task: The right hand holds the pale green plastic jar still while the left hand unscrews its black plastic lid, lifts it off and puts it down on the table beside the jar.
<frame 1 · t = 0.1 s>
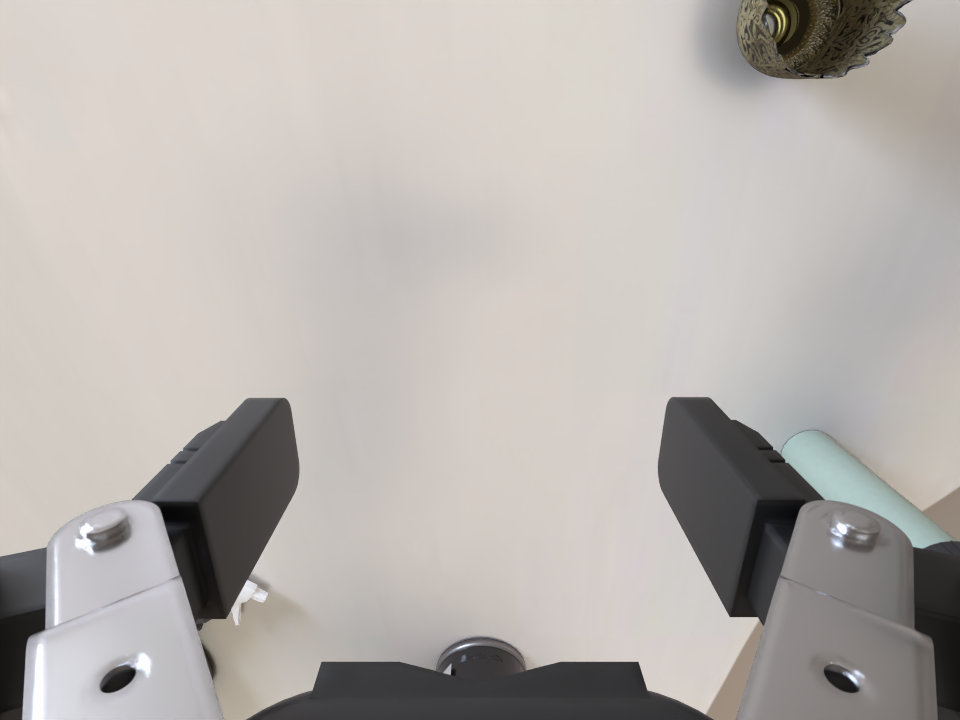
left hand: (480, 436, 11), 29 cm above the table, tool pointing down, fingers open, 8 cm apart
jar: (806, 452, 45), on the table
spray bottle: (181, 639, 53), on the table
lid: (956, 589, 31), point 15 cm above the table, screwed on, not yet turned
cup: (761, 29, 34), on the table
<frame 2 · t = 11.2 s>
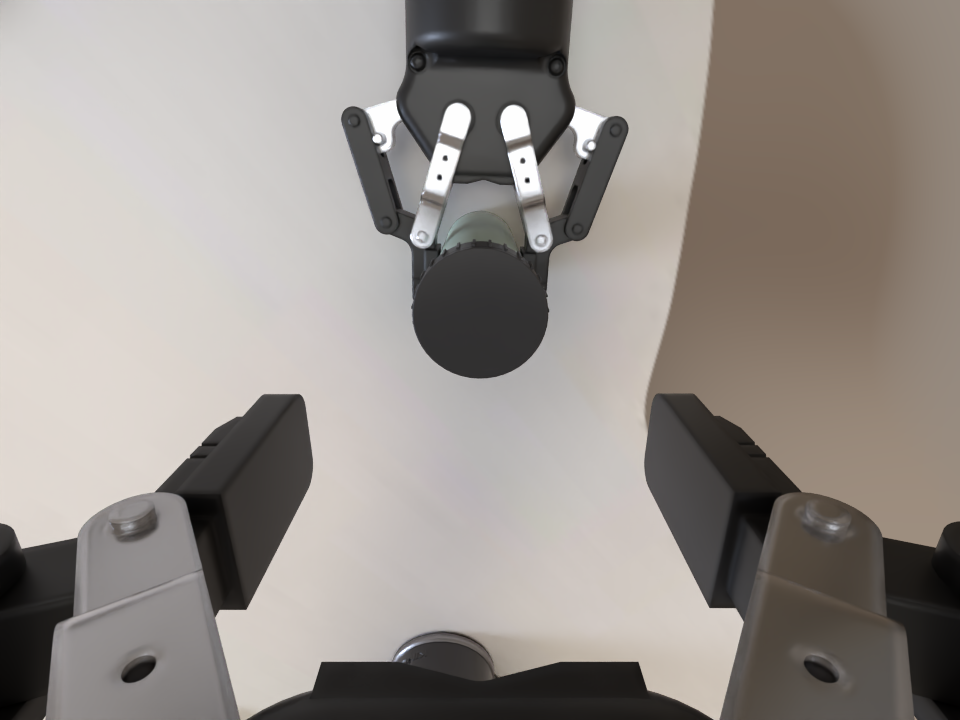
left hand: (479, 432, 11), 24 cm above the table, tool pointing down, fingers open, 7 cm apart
right hand: (479, 314, 29), fingers closed on jar, 4 cm apart
jar: (480, 246, 34), on the table, touching right hand
lid: (480, 313, 20), point 15 cm above the table, screwed on, not yet turned
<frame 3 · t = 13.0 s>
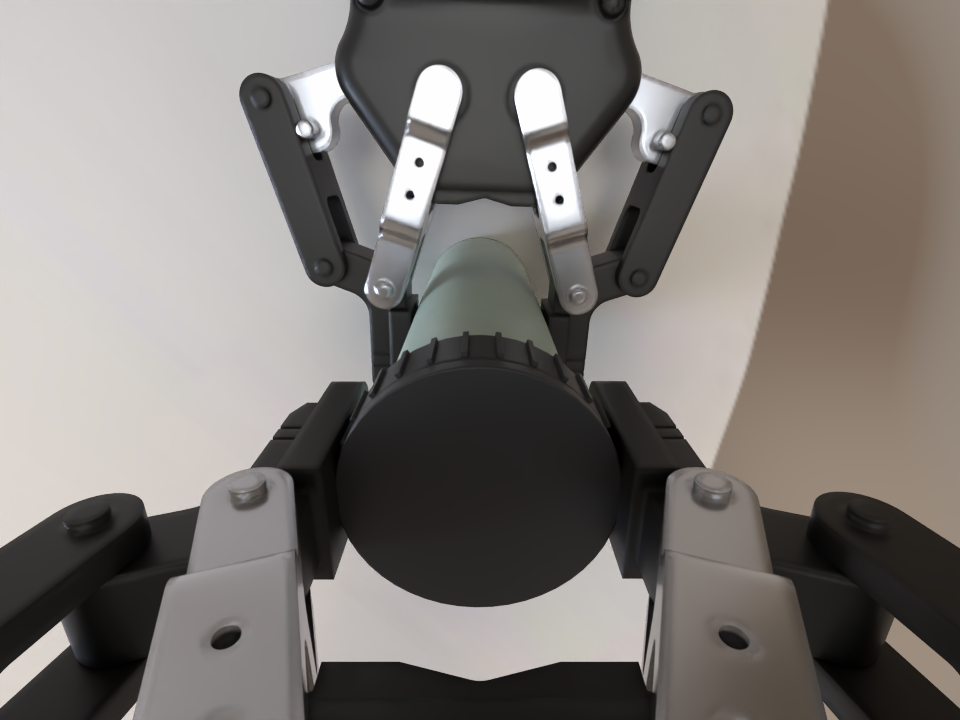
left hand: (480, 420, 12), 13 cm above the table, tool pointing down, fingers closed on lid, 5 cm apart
right hand: (477, 401, 19), fingers closed on jar, 4 cm apart
jar: (479, 286, 24), on the table, touching right hand
lid: (478, 487, 9), point 15 cm above the table, screwed on, not yet turned, touching left hand
when the left hand's fingers open (13 cm above the table, at t = 14.5 s): lid stays where it is, point 15 cm above the table.
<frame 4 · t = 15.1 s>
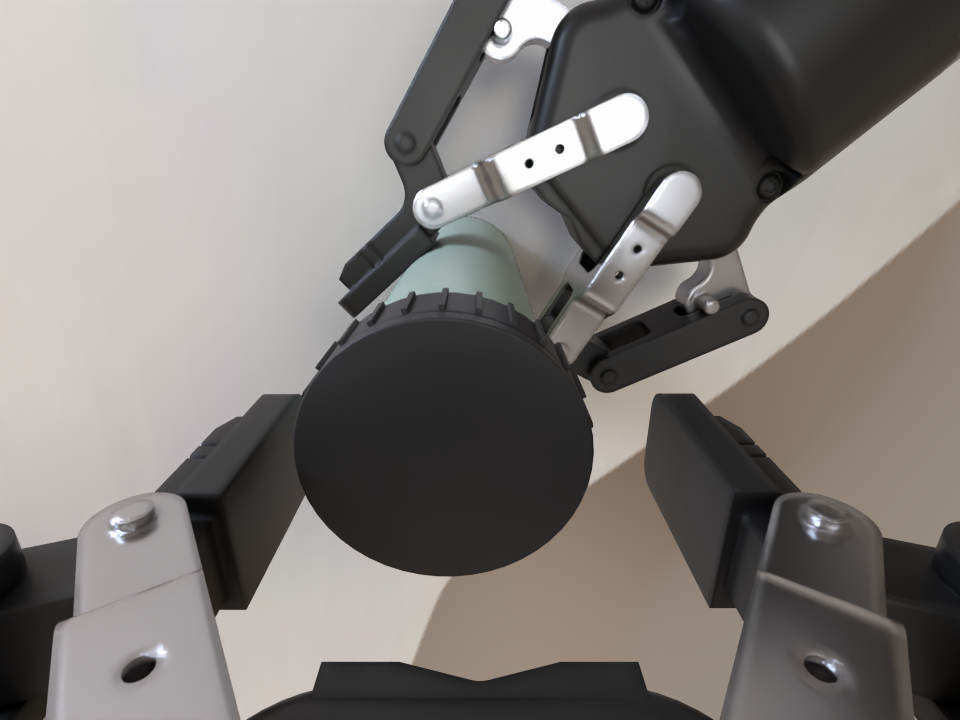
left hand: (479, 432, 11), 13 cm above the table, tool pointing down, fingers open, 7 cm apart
right hand: (405, 355, 18), fingers closed on jar, 4 cm apart
jar: (466, 267, 23), on the table, touching right hand
lid: (445, 450, 9), point 15 cm above the table, turned 81° so far, risen 0.2 cm, still on its thread
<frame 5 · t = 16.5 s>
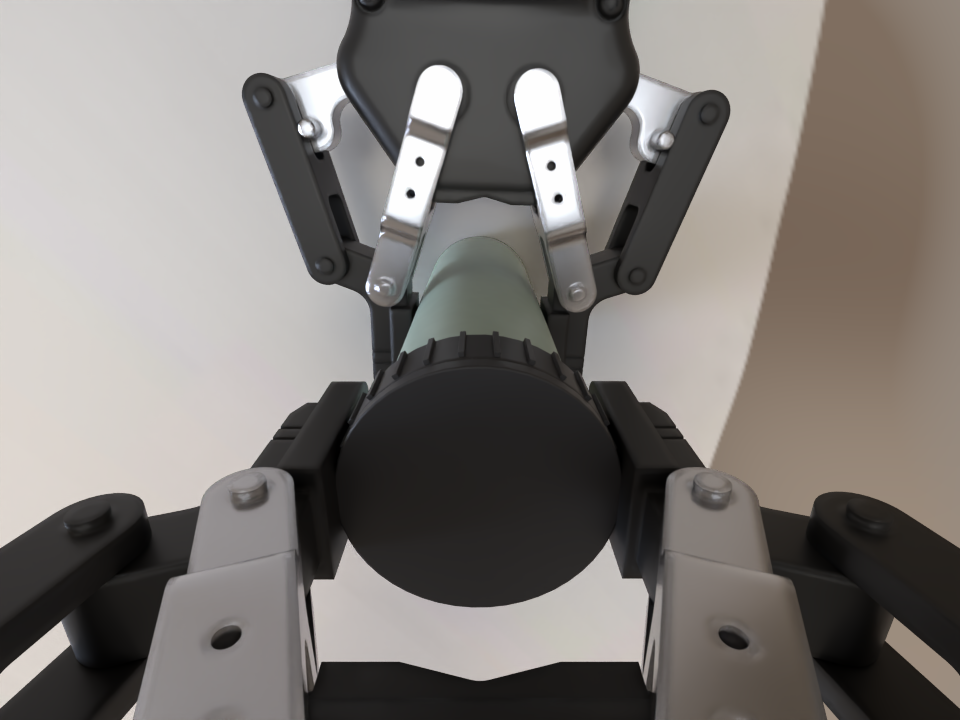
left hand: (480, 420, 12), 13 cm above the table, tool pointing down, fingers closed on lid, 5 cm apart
right hand: (477, 399, 19), fingers closed on jar, 4 cm apart
jar: (479, 285, 24), on the table, touching right hand
lid: (478, 487, 9), point 15 cm above the table, turned 81° so far, risen 0.2 cm, still on its thread, touching left hand
when the left hand's fingers open (0 cm above the table, at t = 23.7 s): lid drops 2 cm, point 1 cm above the table.
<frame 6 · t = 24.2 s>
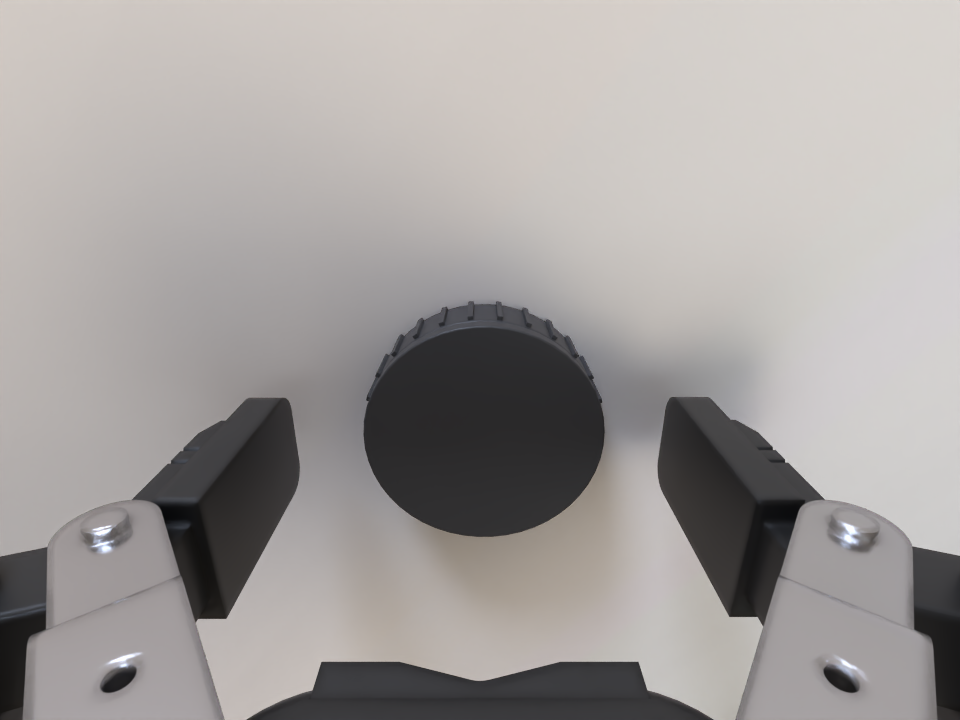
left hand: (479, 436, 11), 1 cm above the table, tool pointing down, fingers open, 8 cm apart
lid: (483, 432, 11), point 1 cm above the table, off its thread
when the right hand's fingers open (6 cm above the table, at t = 24.8 s): jar stays where it is, on the table.
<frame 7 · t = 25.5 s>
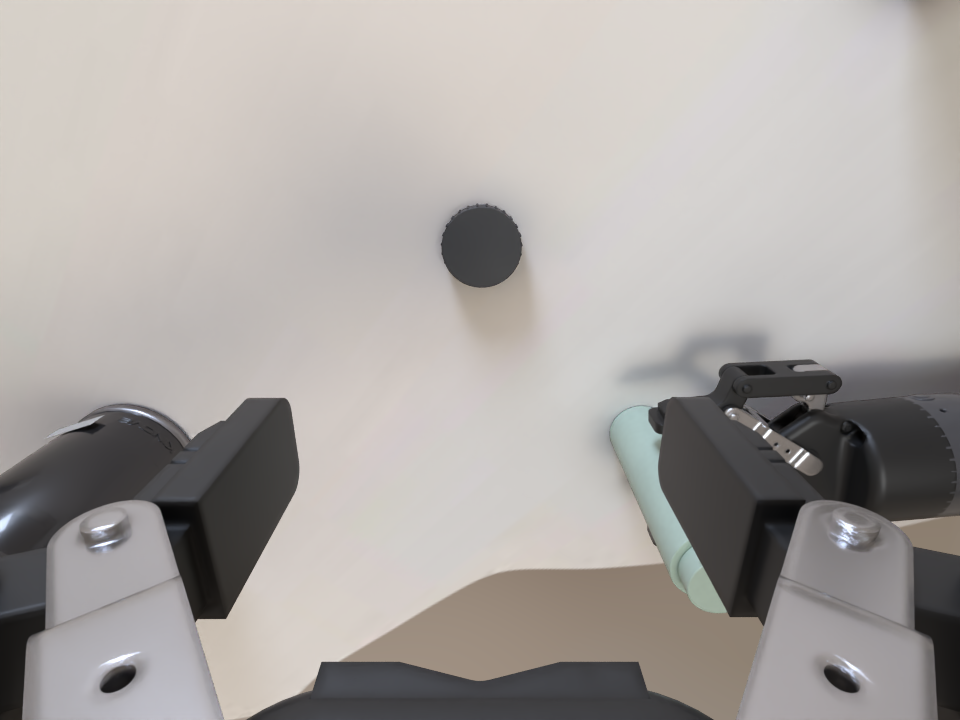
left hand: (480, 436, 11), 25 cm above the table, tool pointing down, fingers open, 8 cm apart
right hand: (650, 479, 34), fingers open, 8 cm apart
jar: (638, 431, 40), on the table
lid: (481, 247, 33), point 1 cm above the table, off its thread
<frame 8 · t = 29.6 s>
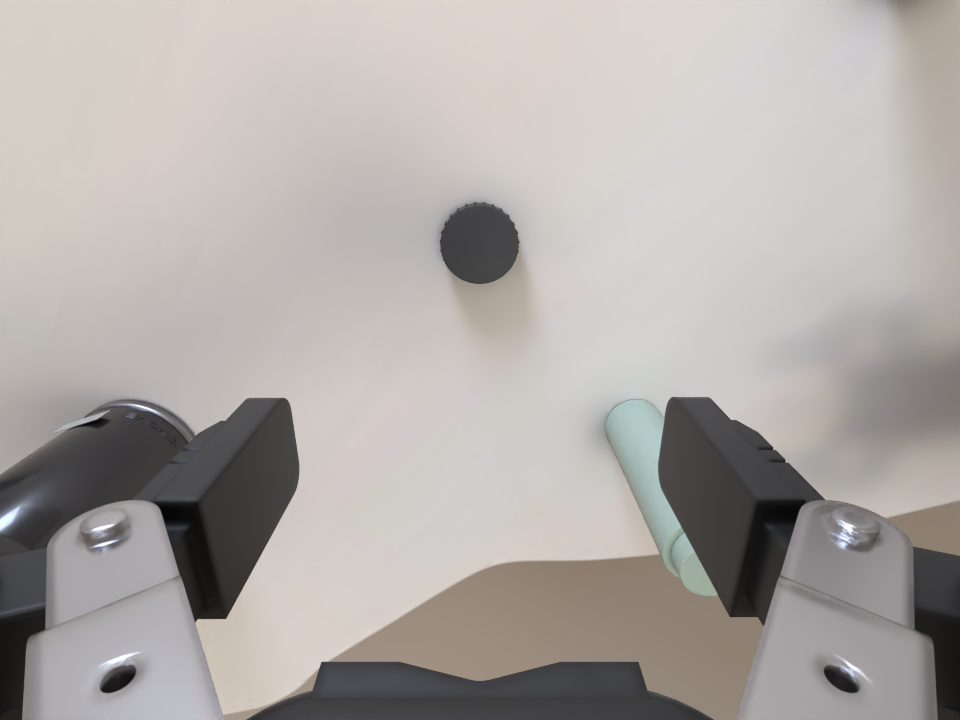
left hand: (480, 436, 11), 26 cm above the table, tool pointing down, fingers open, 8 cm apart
jar: (633, 424, 40), on the table
lid: (479, 244, 34), point 1 cm above the table, off its thread
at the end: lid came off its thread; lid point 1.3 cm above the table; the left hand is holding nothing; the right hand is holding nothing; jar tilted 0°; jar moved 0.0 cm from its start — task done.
